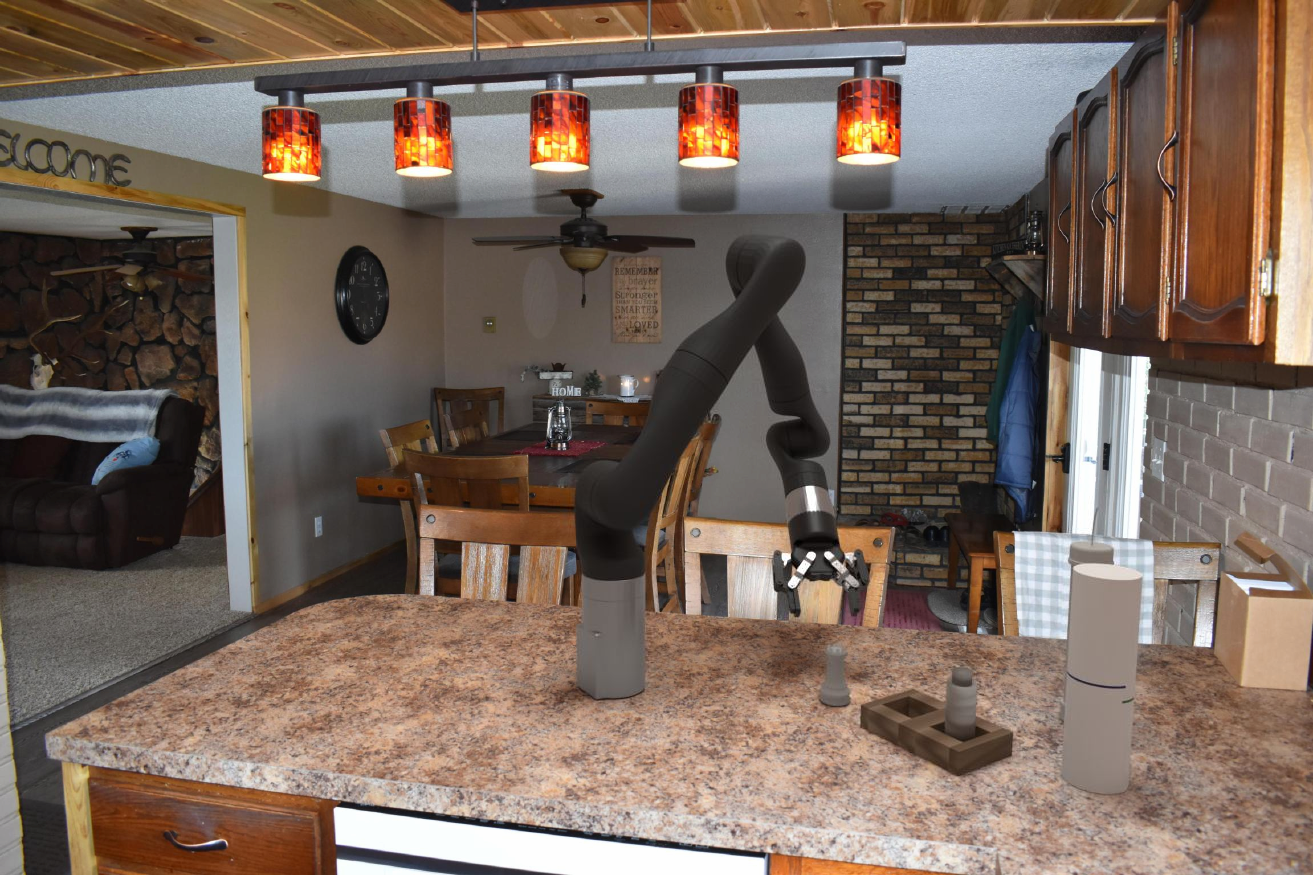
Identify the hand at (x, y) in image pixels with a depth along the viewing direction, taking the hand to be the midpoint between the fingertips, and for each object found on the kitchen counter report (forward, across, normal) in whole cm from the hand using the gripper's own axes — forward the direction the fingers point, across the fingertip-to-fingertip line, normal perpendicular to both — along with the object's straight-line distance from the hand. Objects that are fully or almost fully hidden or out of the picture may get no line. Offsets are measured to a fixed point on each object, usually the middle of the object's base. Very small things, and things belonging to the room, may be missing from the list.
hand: (826, 614), depth 135 cm
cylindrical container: (+29, +25, -14) cm, 40 cm away
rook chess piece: (+12, 0, +3) cm, 12 cm away
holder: (+21, +10, -6) cm, 24 cm away
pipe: (+18, +31, -3) cm, 36 cm away
